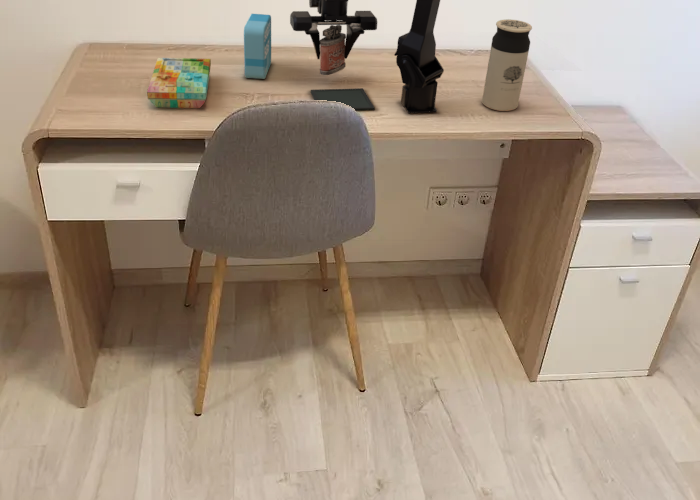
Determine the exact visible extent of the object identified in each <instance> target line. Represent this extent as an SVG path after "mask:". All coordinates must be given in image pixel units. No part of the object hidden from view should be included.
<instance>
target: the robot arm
mask: <svg viewBox="0 0 700 500" xmlns="http://www.w3.org/2000/svg"><path fill="white" fill-rule="evenodd" d="M308 1H309V3H308V4H309V8H314V9H315V8H317V13H318V14H319V15H311V14H310V12H309V10H298V11H297V10H294V11H292V12H291V13H290V14H289V15H290V16H289V24H290V26H291V28H292V30H293V31H294V32H304V33H305V35H307V36H310V39H311V42H312V44H313V48H314V53H315V55H316V58H317V60H320V40H321V38H320V31H319V29H318V26H331V25H333V26H336V25H341V26H346V39H345V49H344V58H345V60H346V59H348V57H349V55H350V54H351V51H352V50H353V47H354V45H355V43H356V42H357V40H358V39H359V37H360V36H361V35H364V34H365V31H376V30H378V18H377V17H376V16H375V14H374V13H373V12H372V11H371V10H355V12H354V15H348V5H349V4H348V3H349V0H308ZM440 4H441V0H416V2H415V6H414V11H413V15H412V19H411V20H412V21H411V25H410V29H409V31H408V32H407V33H404V34H402V35H399V36H398V38H397V47H396V51H395V53H394V54H393V55H394V56H395V59H396V60H395V63H396V66H397V67H398V69H399V71H400V72H399V73H400V76H401V77H400V78H401V82H402V84H404V85H402V89H401V97H400V103H401V106H402V107H403V108H404V109H405V111H406V112H407V114H432V113H433V114H434V113H437V112H438V109H437V108H436V107H435V106H436V99H437V90H438V84H439V83H438V81H437V80H438V79H441V77H442V76H443V74H444V71H445V69H444V67H443V66H442V64H441V63H440V61H439V59H438V58H437V57H436V50H437V49H436V48H437V42H436V38H435V34H434V31H435V30H434V29H435V25H436V21H437V17H438V12H439V8H440Z"/></svg>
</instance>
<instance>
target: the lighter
mask: <svg viewBox="0 0 700 500" xmlns="http://www.w3.org/2000/svg"><path fill="white" fill-rule="evenodd" d="M342 30H343V25H329V27H327V28H325V29H323V30H322V38H320V59H319V60H320V64H319V65H320V68H319V75H321V76H331V75H334V74H336V73H339V72H340V71H343V70H344V69H345V68H346V66H347V65H346V59H345V58H344V49H345V42H346V35H347V33H344V32H342Z"/></svg>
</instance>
